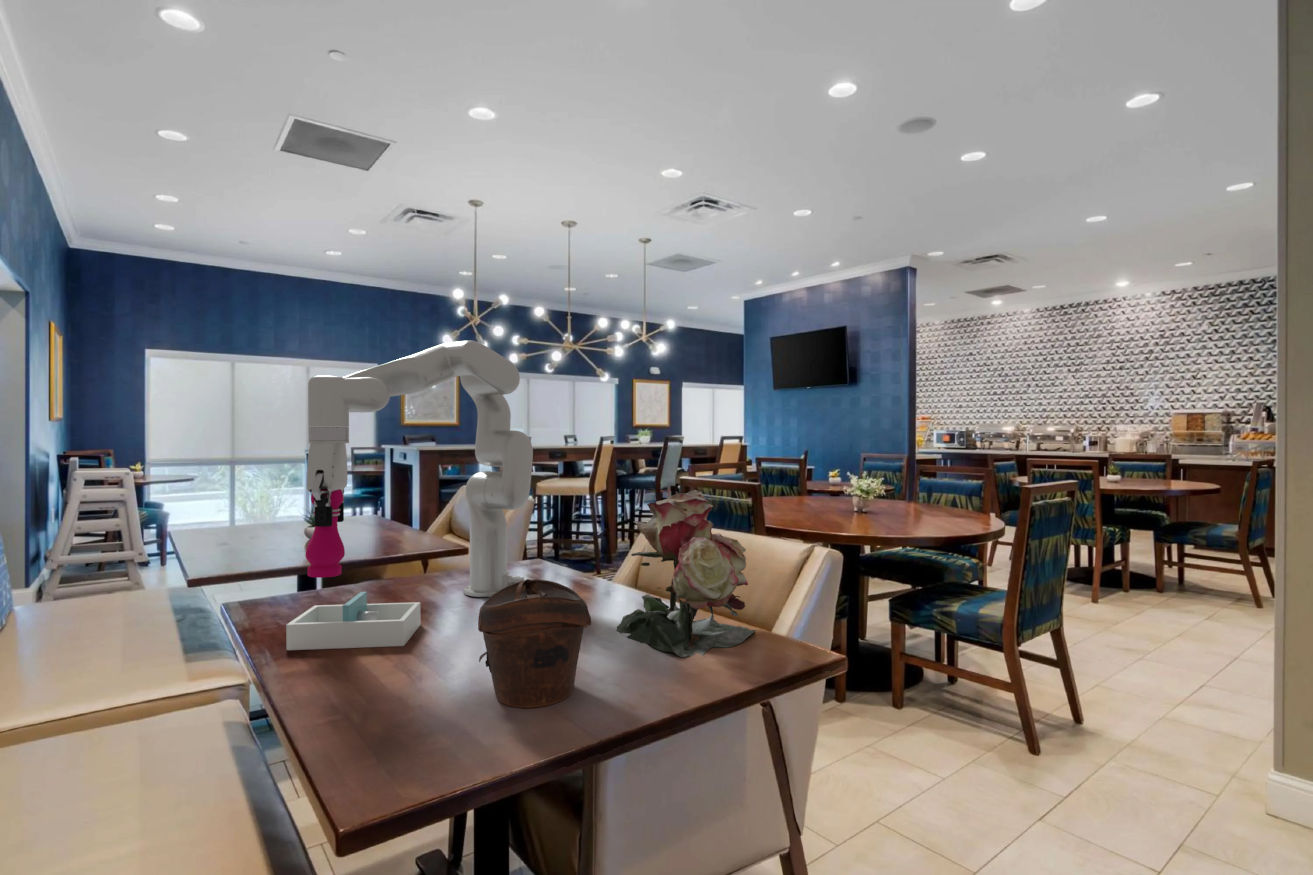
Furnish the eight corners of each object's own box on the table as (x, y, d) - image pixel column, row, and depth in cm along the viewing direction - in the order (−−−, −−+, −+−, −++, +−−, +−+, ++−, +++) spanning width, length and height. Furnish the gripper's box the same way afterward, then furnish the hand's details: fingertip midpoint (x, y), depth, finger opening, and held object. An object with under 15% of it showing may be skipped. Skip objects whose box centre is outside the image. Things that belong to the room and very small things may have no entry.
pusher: (384, 622, 143) (384, 591, 143) (368, 638, 132) (367, 604, 132) (361, 623, 143) (360, 591, 143) (342, 639, 132) (342, 605, 132)
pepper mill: (315, 579, 131) (318, 478, 132) (298, 574, 136) (301, 476, 136) (350, 574, 137) (354, 477, 138) (333, 570, 141) (336, 476, 142)
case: (536, 661, 123) (534, 565, 122) (615, 689, 110) (614, 582, 109) (451, 693, 109) (449, 585, 108) (531, 729, 96) (529, 607, 96)
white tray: (420, 624, 146) (420, 602, 146) (403, 645, 132) (403, 620, 132) (314, 628, 143) (314, 605, 143) (286, 650, 129) (286, 624, 129)
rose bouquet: (696, 667, 120) (696, 501, 120) (603, 629, 143) (603, 489, 142) (787, 638, 137) (787, 492, 136) (691, 608, 159) (691, 483, 159)
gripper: (325, 435, 145) (326, 518, 145) (291, 437, 128) (292, 530, 128) (361, 435, 146) (362, 518, 146) (332, 436, 128) (333, 530, 129)
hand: (329, 523), depth 137 cm, fingers closed on pepper mill, 5 cm apart
